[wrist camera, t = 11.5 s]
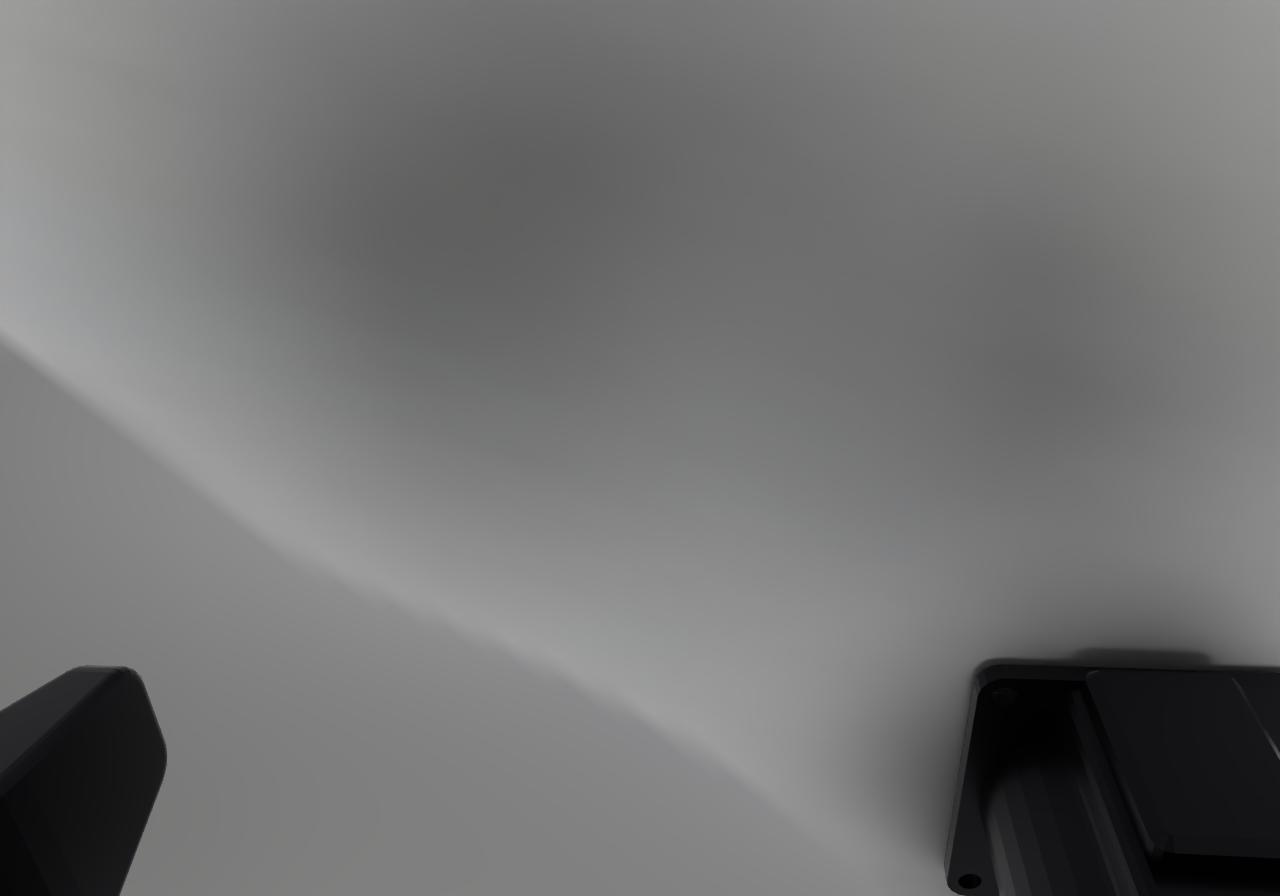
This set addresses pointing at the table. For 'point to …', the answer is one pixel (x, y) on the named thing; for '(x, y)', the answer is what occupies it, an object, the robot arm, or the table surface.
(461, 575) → the table surface
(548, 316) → the table surface
